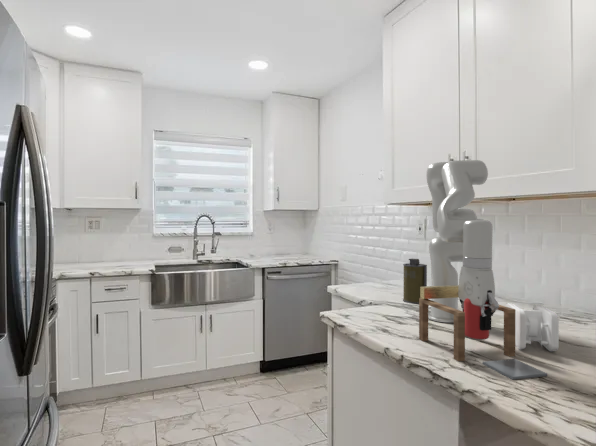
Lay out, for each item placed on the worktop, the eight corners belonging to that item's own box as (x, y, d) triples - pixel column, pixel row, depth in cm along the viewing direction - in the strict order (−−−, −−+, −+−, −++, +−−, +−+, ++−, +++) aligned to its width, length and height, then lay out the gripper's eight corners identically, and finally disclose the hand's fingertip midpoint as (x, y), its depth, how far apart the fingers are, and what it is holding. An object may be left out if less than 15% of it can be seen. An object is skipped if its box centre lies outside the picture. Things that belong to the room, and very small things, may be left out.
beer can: (467, 340, 104) (468, 297, 103) (460, 332, 110) (461, 292, 110) (492, 341, 103) (493, 298, 102) (484, 333, 109) (484, 292, 109)
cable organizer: (504, 336, 122) (504, 301, 122) (540, 339, 119) (540, 302, 119) (519, 352, 107) (519, 311, 107) (561, 355, 105) (561, 314, 105)
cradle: (419, 339, 119) (419, 298, 119) (468, 335, 123) (468, 295, 123) (458, 361, 100) (458, 312, 100) (515, 356, 104) (515, 309, 104)
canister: (398, 301, 177) (398, 258, 177) (410, 298, 184) (410, 257, 184) (419, 304, 169) (419, 260, 169) (431, 301, 176) (431, 259, 176)
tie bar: (420, 297, 118) (420, 286, 118) (470, 295, 122) (470, 284, 122) (424, 299, 116) (424, 287, 116) (474, 296, 120) (474, 285, 120)
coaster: (482, 363, 98) (482, 361, 98) (514, 360, 100) (514, 358, 100) (512, 379, 88) (512, 377, 88) (547, 375, 90) (547, 373, 90)
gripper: (446, 260, 113) (446, 318, 114) (487, 268, 97) (486, 337, 97) (468, 259, 115) (467, 316, 116) (512, 267, 98) (511, 334, 99)
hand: (476, 325), depth 106 cm, fingers closed on beer can, 6 cm apart
